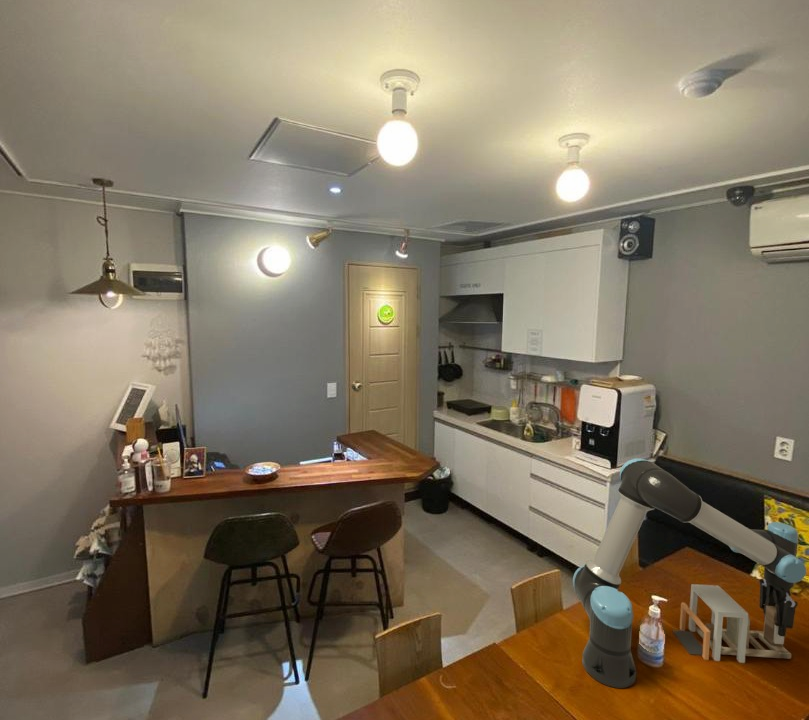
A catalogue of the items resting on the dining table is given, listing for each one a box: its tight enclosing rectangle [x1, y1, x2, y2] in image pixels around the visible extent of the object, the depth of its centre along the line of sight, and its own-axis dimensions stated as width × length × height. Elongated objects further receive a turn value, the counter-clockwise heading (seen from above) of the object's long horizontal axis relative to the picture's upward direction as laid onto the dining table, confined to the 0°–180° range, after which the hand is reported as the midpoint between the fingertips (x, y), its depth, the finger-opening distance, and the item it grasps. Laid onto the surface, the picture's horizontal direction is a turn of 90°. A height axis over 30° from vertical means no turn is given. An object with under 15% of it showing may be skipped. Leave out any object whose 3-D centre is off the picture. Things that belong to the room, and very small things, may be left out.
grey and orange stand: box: [679, 583, 749, 664], centre depth 146 cm, size 12×15×16 cm
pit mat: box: [671, 630, 710, 657], centre depth 147 cm, size 6×11×1 cm, turn 175°
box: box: [726, 617, 751, 649], centre depth 146 cm, size 5×4×11 cm
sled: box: [696, 606, 792, 660], centre depth 145 cm, size 23×10×13 cm, turn 85°
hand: (773, 638), depth 145 cm, fingers closed on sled, 3 cm apart
